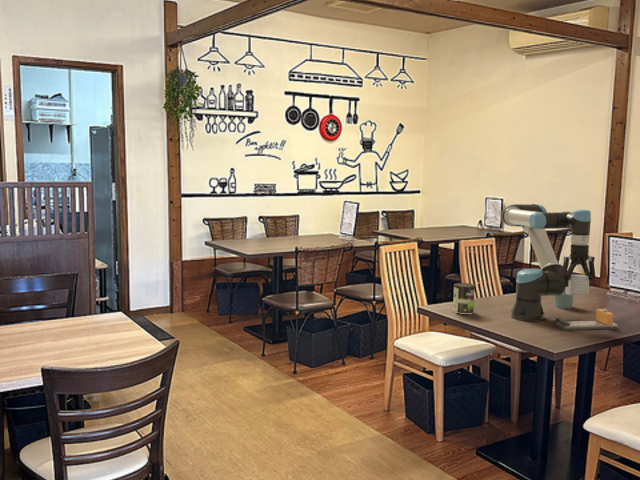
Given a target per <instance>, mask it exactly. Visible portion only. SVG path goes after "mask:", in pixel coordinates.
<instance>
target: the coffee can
mask: <svg viewBox="0 0 640 480" xmlns="http://www.w3.org/2000/svg"><path fill="white" fill-rule="evenodd" d="M475 291H476V285H475V284H474V283H467V282H457V283H454V284H453V308H452V311H453V310H454V311H456V312H459V313H473V312H475ZM473 314H474V313H473Z"/></svg>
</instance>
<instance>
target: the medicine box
mask: <svg viewBox="0 0 640 480" xmlns="http://www.w3.org/2000/svg"><path fill="white" fill-rule="evenodd" d="M588 278H589V277H588V276H586V275H585V274H572V275H571V276H570V279H569V280H571V286H570V294H569V295H573V296H588V294H587V292H588Z"/></svg>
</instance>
